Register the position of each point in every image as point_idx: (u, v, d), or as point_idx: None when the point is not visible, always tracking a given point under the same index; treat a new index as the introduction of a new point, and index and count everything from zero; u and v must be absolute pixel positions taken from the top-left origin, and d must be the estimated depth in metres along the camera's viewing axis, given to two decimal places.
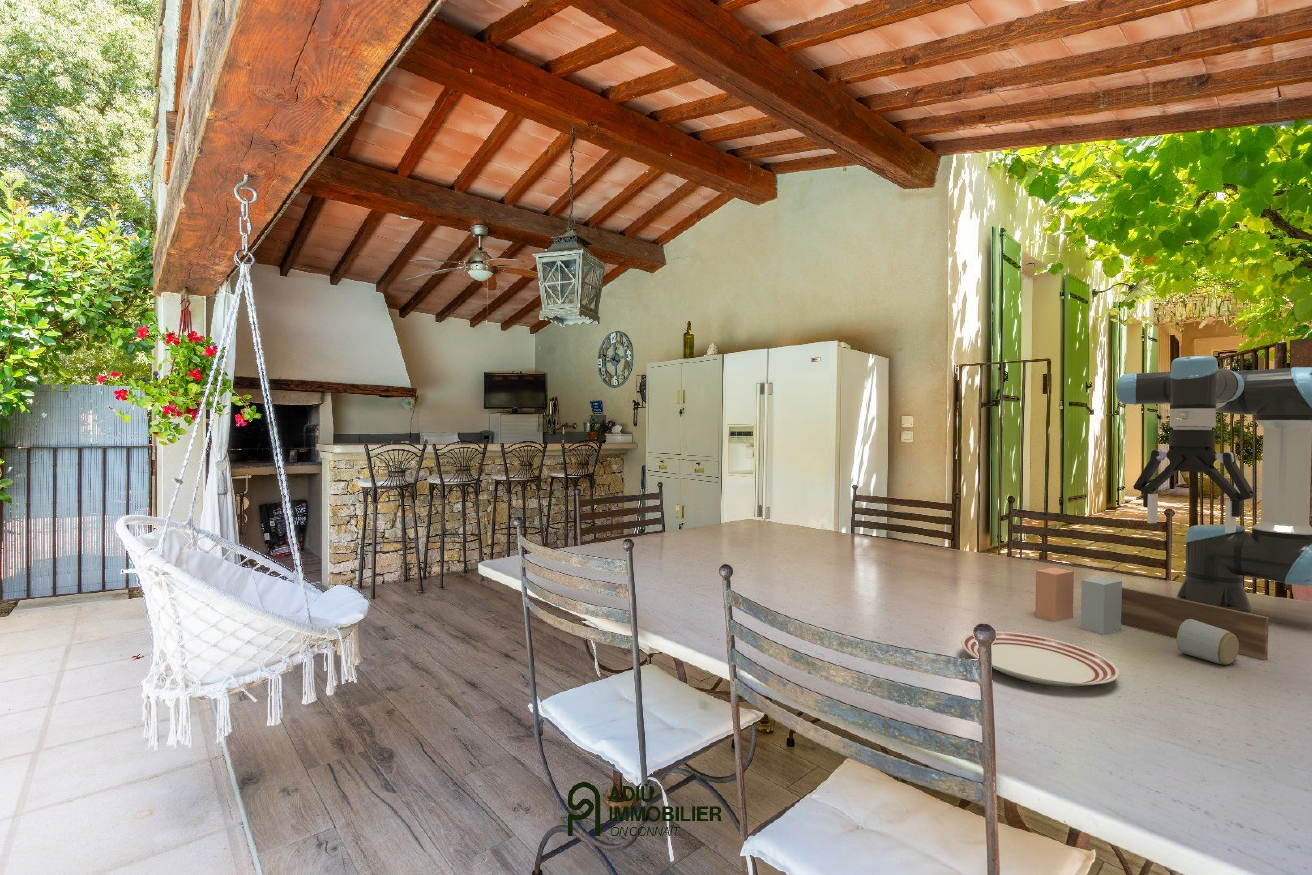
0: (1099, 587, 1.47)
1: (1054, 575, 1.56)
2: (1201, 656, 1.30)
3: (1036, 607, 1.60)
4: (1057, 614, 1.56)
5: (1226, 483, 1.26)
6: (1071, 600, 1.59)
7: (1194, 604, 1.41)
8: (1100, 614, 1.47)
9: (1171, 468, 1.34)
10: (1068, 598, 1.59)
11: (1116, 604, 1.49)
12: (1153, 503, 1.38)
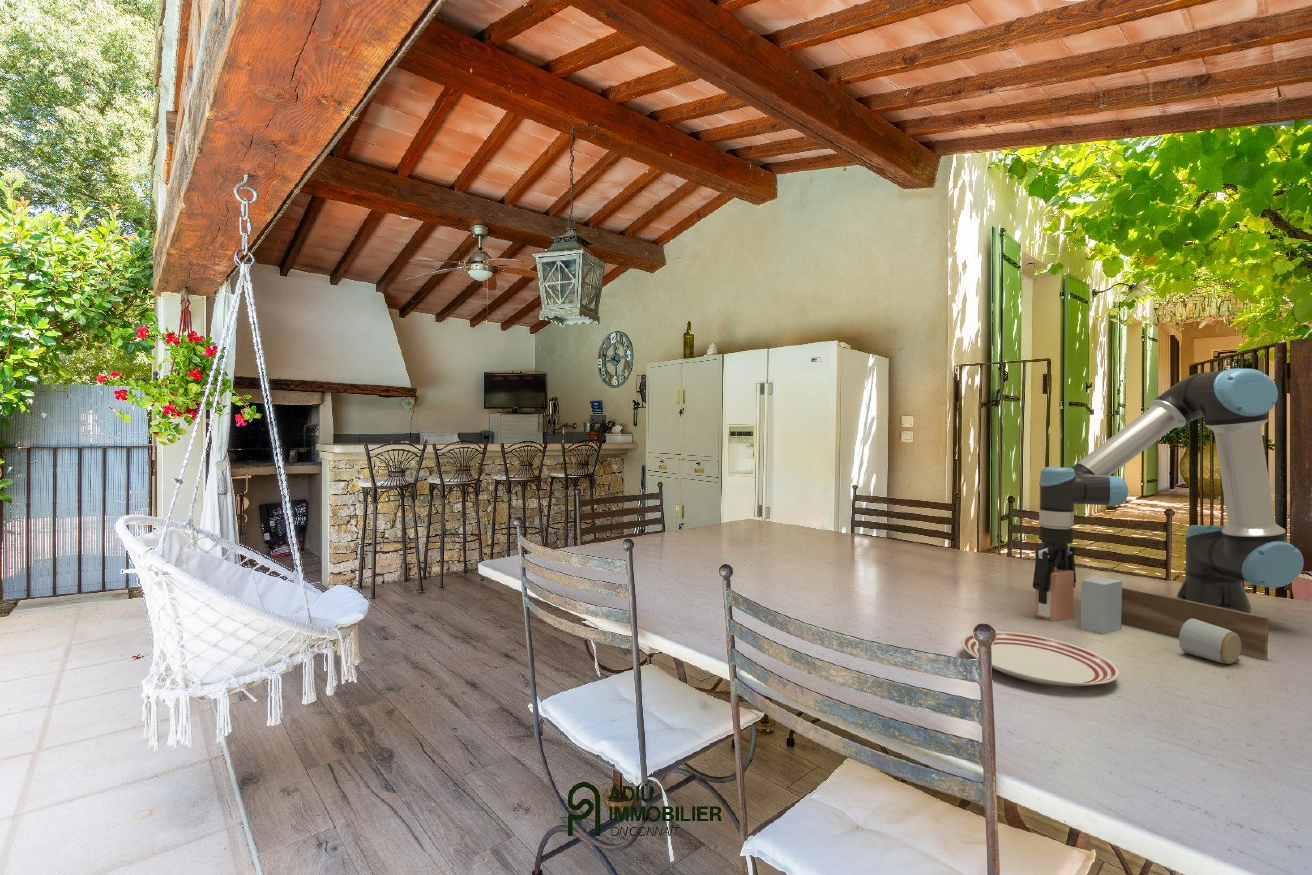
0: (1099, 587, 1.47)
1: (1054, 575, 1.56)
2: (1203, 655, 1.30)
3: (1036, 607, 1.60)
4: (1057, 614, 1.56)
5: None
6: (1071, 600, 1.59)
7: (1194, 604, 1.41)
8: (1100, 614, 1.47)
9: None
10: (1068, 598, 1.59)
11: (1116, 604, 1.49)
12: None
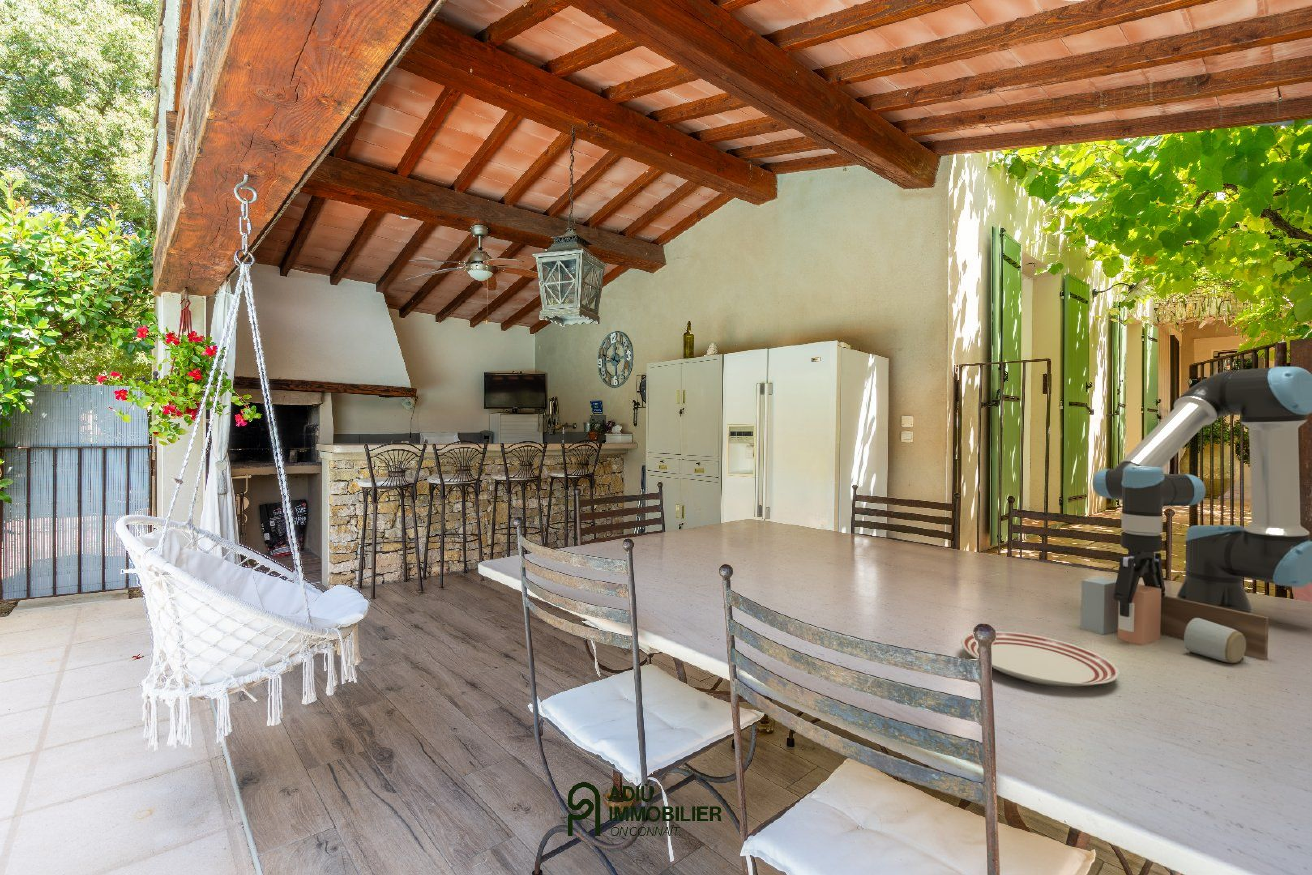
0: (1099, 587, 1.47)
1: (1141, 593, 1.39)
2: (1208, 655, 1.31)
3: (1119, 629, 1.43)
4: (1144, 638, 1.40)
5: None
6: (1158, 621, 1.42)
7: (1194, 604, 1.41)
8: (1100, 614, 1.47)
9: None
10: (1156, 619, 1.42)
11: (1116, 604, 1.49)
12: None
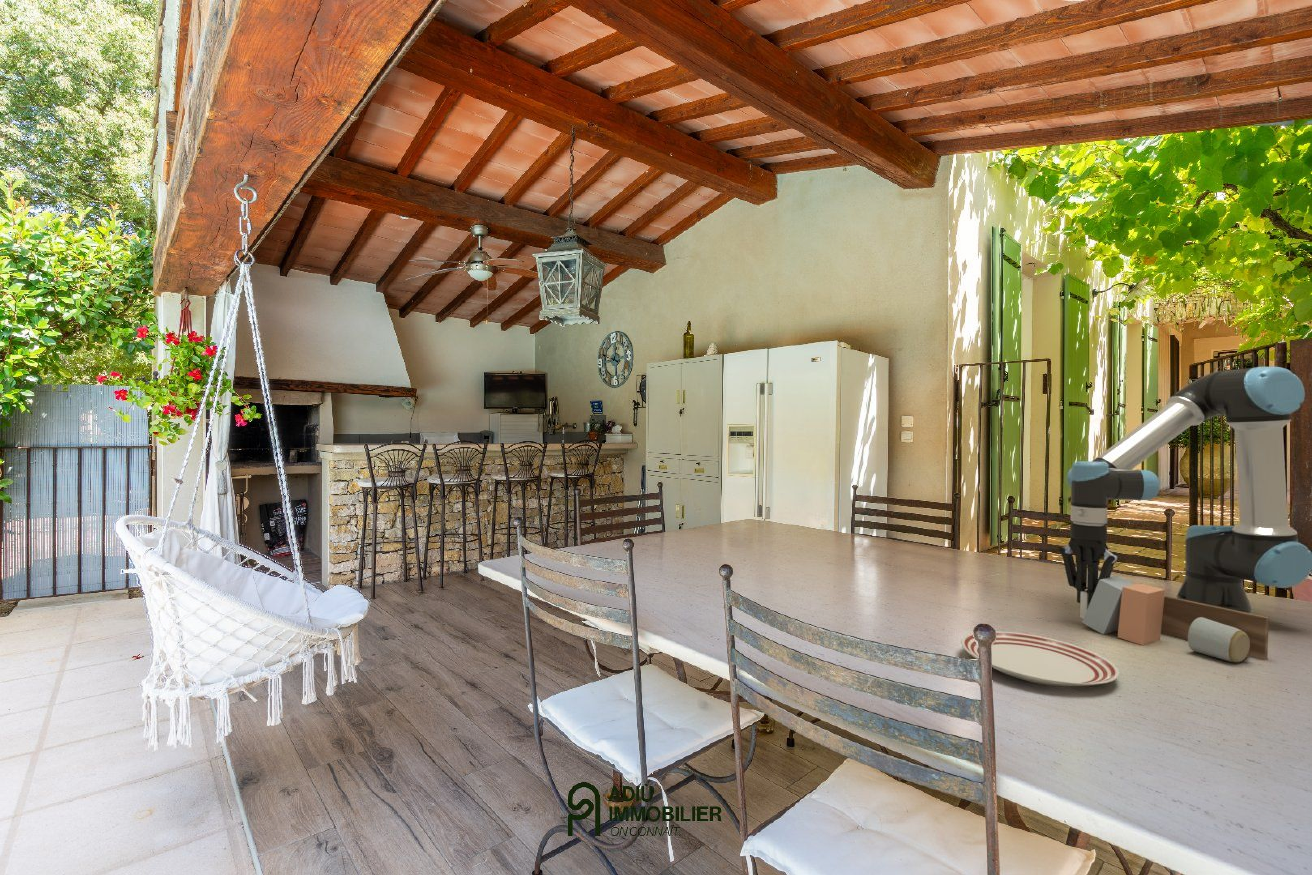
0: (1115, 591, 1.44)
1: (1145, 594, 1.39)
2: (1212, 654, 1.31)
3: (1119, 628, 1.43)
4: (1144, 638, 1.39)
5: (1094, 577, 1.51)
6: (1160, 621, 1.42)
7: (1194, 604, 1.41)
8: (1107, 615, 1.45)
9: (1079, 559, 1.53)
10: (1157, 619, 1.42)
11: None
12: None
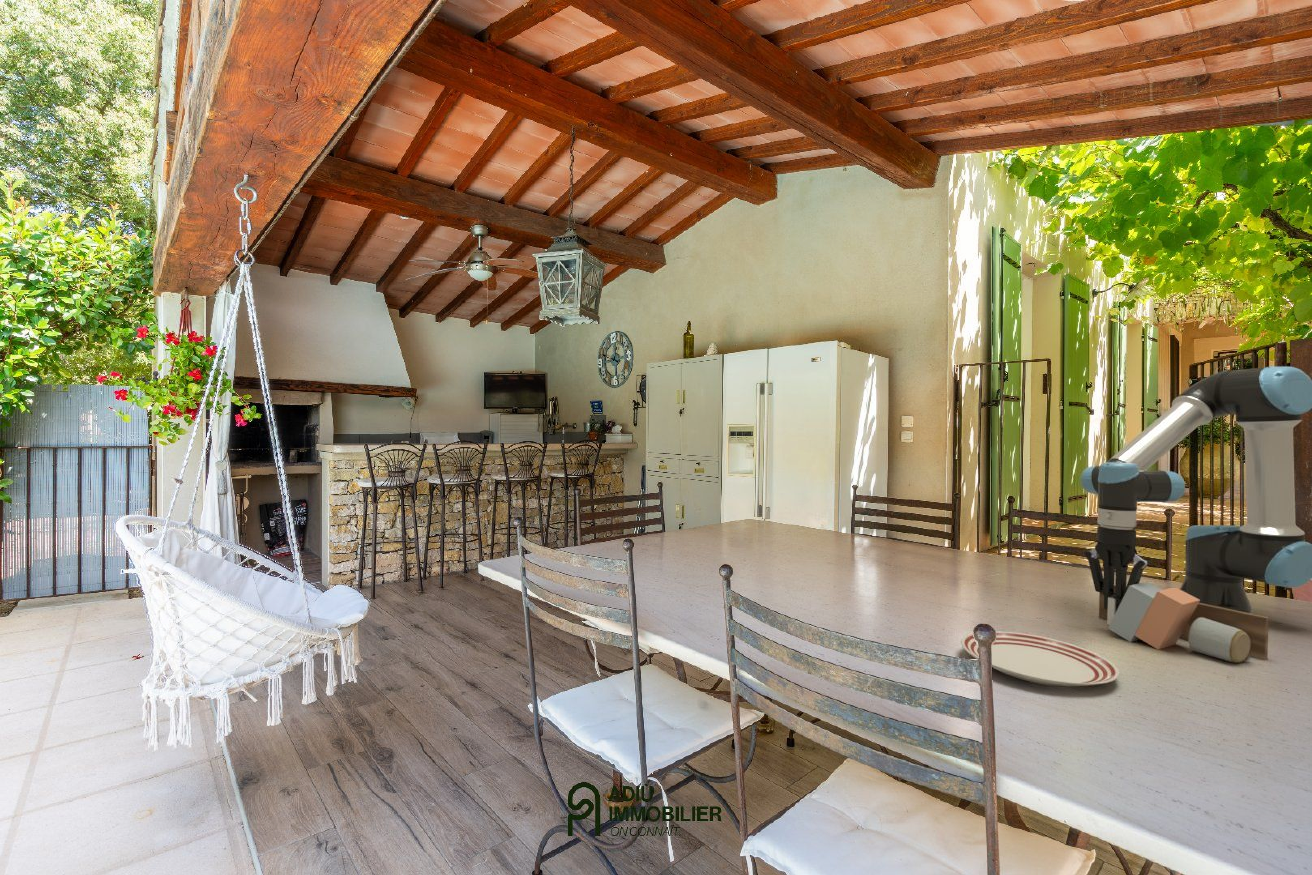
0: (1146, 598, 1.38)
1: (1180, 604, 1.33)
2: (1213, 654, 1.31)
3: (1139, 627, 1.40)
4: (1163, 643, 1.36)
5: (1122, 583, 1.46)
6: (1182, 628, 1.38)
7: None
8: (1135, 623, 1.40)
9: (1107, 564, 1.48)
10: (1181, 626, 1.38)
11: None
12: None
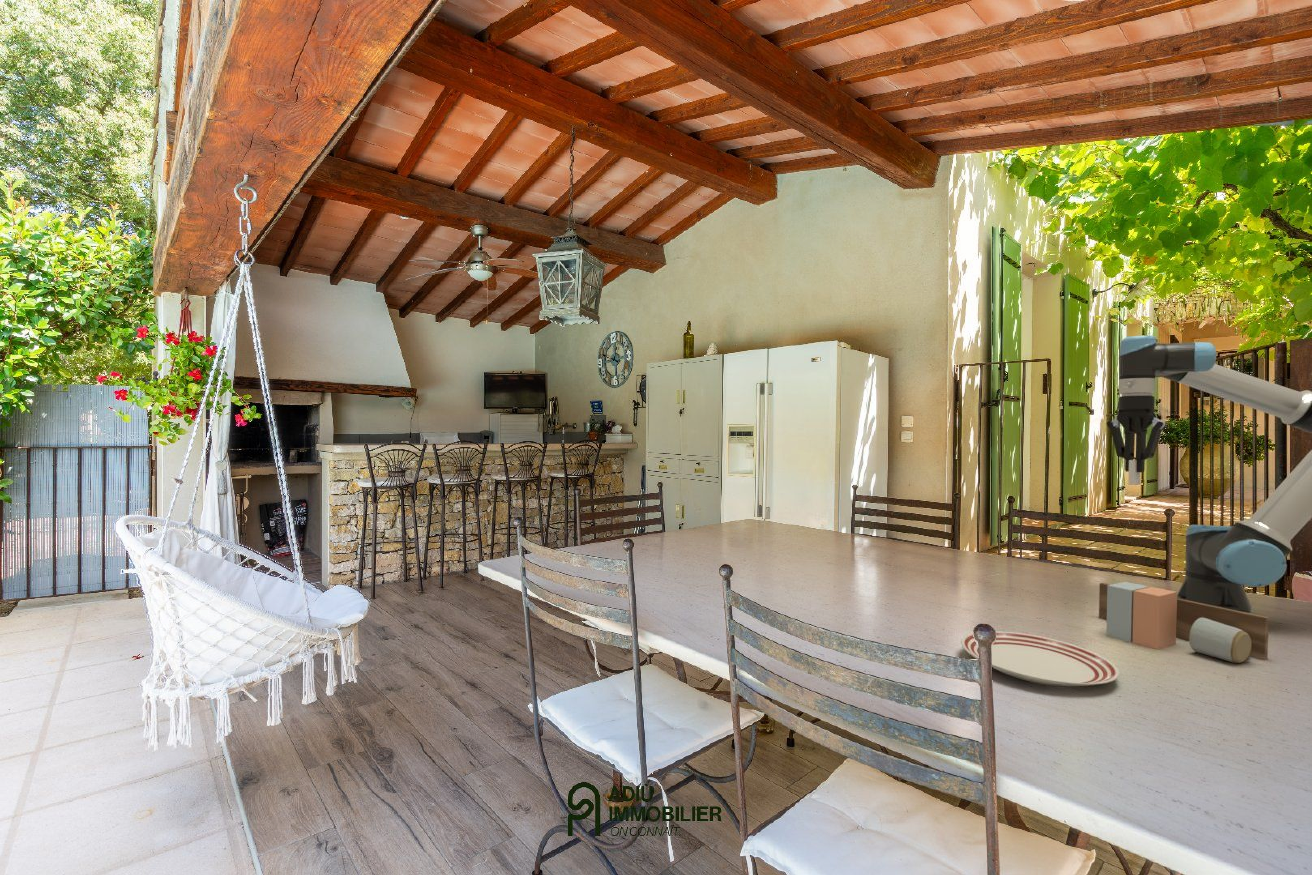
0: (1126, 593, 1.42)
1: (1157, 597, 1.37)
2: (1214, 654, 1.31)
3: (1134, 633, 1.41)
4: (1160, 642, 1.37)
5: (1142, 445, 1.60)
6: (1174, 625, 1.40)
7: (1194, 604, 1.41)
8: (1127, 621, 1.42)
9: (1128, 429, 1.62)
10: (1171, 623, 1.39)
11: None
12: None
